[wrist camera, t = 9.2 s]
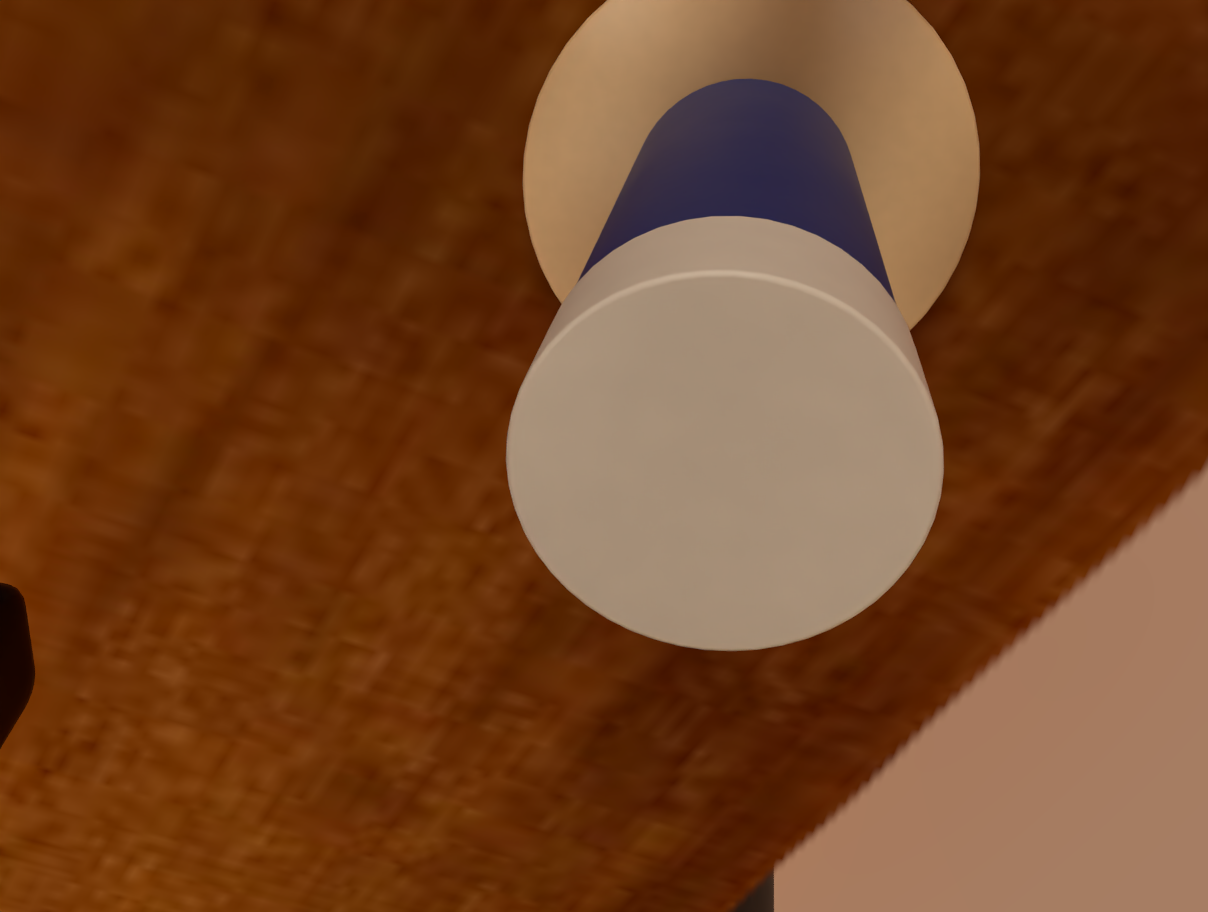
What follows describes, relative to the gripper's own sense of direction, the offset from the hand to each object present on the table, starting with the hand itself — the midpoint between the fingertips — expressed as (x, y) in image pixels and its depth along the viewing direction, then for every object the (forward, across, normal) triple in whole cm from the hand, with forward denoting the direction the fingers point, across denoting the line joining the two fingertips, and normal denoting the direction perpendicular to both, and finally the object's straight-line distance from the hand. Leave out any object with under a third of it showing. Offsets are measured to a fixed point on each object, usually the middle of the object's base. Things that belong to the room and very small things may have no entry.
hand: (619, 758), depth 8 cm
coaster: (+11, 0, -1) cm, 11 cm away
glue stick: (+11, 0, -1) cm, 11 cm away
